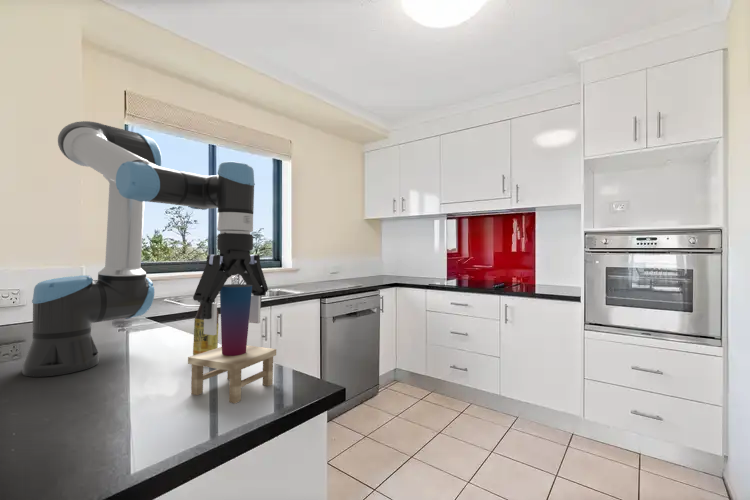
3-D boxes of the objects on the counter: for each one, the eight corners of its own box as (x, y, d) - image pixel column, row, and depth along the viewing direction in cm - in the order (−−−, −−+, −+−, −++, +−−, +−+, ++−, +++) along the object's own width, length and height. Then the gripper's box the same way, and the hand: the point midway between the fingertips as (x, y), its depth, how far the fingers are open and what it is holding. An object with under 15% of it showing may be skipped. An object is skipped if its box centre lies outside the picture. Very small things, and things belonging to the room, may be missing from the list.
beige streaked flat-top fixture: (187, 394, 79) (188, 357, 79) (232, 376, 91) (232, 343, 91) (235, 404, 74) (236, 364, 74) (275, 383, 86) (276, 349, 86)
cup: (239, 358, 79) (241, 287, 79) (210, 355, 80) (213, 286, 80) (255, 350, 85) (257, 284, 85) (229, 347, 87) (231, 283, 87)
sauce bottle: (187, 361, 102) (188, 289, 102) (205, 355, 108) (206, 287, 108) (205, 364, 100) (206, 290, 100) (223, 358, 106) (223, 288, 106)
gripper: (203, 229, 70) (201, 342, 70) (283, 235, 93) (281, 320, 93) (174, 229, 72) (172, 338, 72) (259, 235, 96) (257, 317, 96)
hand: (234, 328), depth 83 cm, fingers open, 13 cm apart
